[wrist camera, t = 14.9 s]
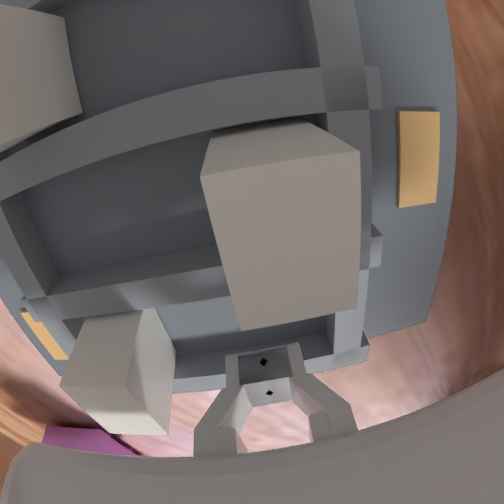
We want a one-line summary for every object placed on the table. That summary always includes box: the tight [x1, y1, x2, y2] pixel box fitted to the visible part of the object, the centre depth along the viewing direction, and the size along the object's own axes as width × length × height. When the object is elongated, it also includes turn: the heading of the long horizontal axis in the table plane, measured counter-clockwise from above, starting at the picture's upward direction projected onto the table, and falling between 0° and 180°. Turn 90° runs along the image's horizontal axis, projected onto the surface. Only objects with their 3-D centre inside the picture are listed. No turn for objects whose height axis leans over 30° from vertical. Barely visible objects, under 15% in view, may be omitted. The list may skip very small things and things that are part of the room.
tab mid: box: [200, 118, 361, 331], centre depth 8 cm, size 3×4×5 cm
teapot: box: [42, 425, 138, 456], centre depth 23 cm, size 18×14×10 cm
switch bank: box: [0, 0, 457, 394], centre depth 11 cm, size 24×20×4 cm
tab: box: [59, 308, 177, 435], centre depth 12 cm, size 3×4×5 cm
